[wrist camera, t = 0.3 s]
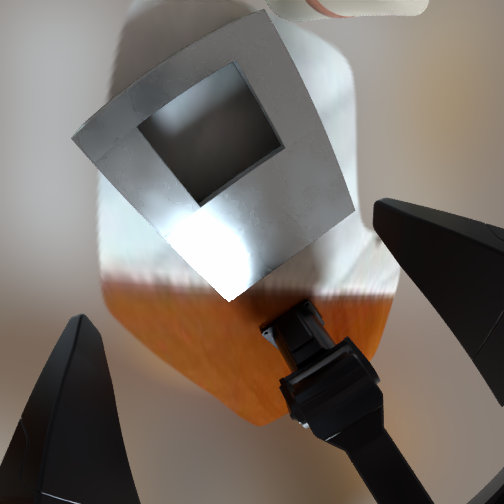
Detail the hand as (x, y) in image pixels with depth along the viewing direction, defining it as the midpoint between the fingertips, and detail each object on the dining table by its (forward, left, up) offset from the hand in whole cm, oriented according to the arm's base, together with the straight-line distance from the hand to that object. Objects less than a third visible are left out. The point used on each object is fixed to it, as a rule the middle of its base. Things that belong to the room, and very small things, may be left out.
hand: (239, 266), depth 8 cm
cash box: (-3, -2, -14) cm, 14 cm away
